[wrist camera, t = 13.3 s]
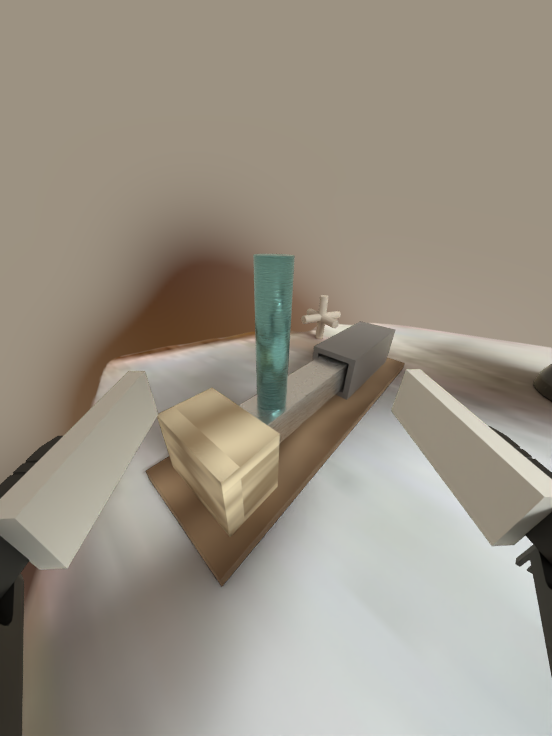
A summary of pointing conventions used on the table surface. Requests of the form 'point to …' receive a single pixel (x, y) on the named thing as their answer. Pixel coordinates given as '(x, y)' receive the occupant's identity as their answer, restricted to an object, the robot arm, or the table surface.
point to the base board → (295, 471)
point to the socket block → (222, 455)
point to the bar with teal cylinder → (285, 354)
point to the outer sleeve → (357, 352)
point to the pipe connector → (322, 317)
